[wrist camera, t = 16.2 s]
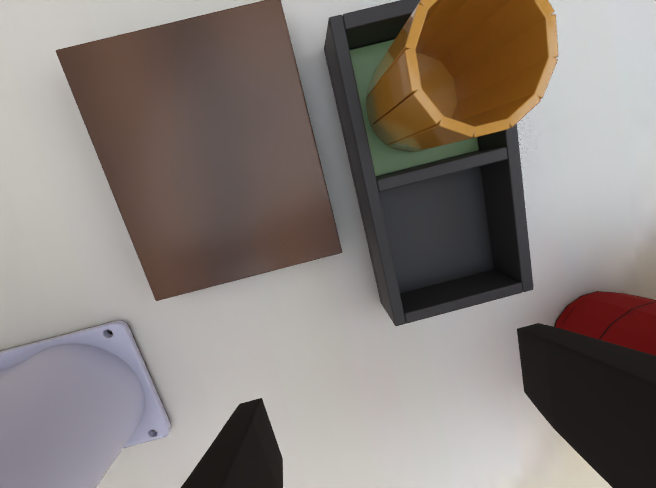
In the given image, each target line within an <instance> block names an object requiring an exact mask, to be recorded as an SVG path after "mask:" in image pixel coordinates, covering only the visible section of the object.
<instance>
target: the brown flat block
mask: <svg viewBox="0 0 656 488" xmlns="http://www.w3.org/2000/svg"><path fill="white" fill-rule="evenodd" d="M56 53H57V56H58V58H59V61H60V63H61V66H62V68H63V71H64V73H65V76H66V78H67V81H68V83H69V86H70V88H71V91H72V93H73V95H74V98H75V100H76V103H77V105H78V108H79V110H80V113H81V115H82V118H83V120H84V123H85V125H86V128H87V130H88V133H89V135H90V138H91V140H92V143H93V145H94V148H95V150H96V153H97V155H98V158H99V160H100V163H101V165H102V168H103V170H104V173H105V175H106V178H107V180H108V183H109V185H110V188H111V190H112V193H113V195H114V198H115V200H116V203H117V205H118V208H119V210H120V213H121V215H122V218H123V220H124V223H125V225H126V228H127V230H128V233H129V235H130V238H131V240H132V243H133V245H134V248H135V250H136V253H137V255H138V257H139V260H140V262H141V265H142V267H143V270H144V272H145V275H146V277H147V280H148V282H149V285H150V287H151V290H152V292H153V295H154V297H155V300H156V301H158V300H162V299H166V298H170V297H174V296H178V295H181V294H185V293H189V292H193V291H197V290H201V289H204V288H208V287H212V286H216V285H220V284H224V283H227V282H231V281H235V280H239V279H243V278H247V277H250V276H254V275H258V274H262V273H266V272H270V271H274V270H277V269H281V268H285V267H289V266H293V265H297V264H300V263H304V262H308V261H312V260H316V259H320V258H323V257H327V256H331V255H335V254H339V253H342V249H341V245H340V241H339V237H338V233H337V229H336V224H335V220H334V216H333V212H332V208H331V204H330V200H329V196H328V192H327V188H326V184H325V179H324V175H323V171H322V167H321V163H320V159H319V155H318V151H317V147H316V143H315V139H314V135H313V130H312V126H311V122H310V118H309V114H308V110H307V106H306V102H305V98H304V94H303V90H302V86H301V81H300V77H299V73H298V69H297V65H296V61H295V57H294V53H293V49H292V45H291V41H290V36H289V32H288V28H287V24H286V20H285V16H284V12H283V8H282V4H281V0H264V1H260V2H256V3H252V4H247V5H243V6H239V7H235V8H231V9H226V10H222V11H218V12H214V13H210V14H206V15H201V16H197V17H193V18H189V19H185V20H180V21H176V22H172V23H168V24H164V25H160V26H155V27H151V28H147V29H143V30H139V31H134V32H130V33H126V34H122V35H118V36H114V37H109V38H105V39H101V40H97V41H93V42H88V43H84V44H80V45H76V46H72V47H68V48H63V49H59V50H56Z"/></svg>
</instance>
